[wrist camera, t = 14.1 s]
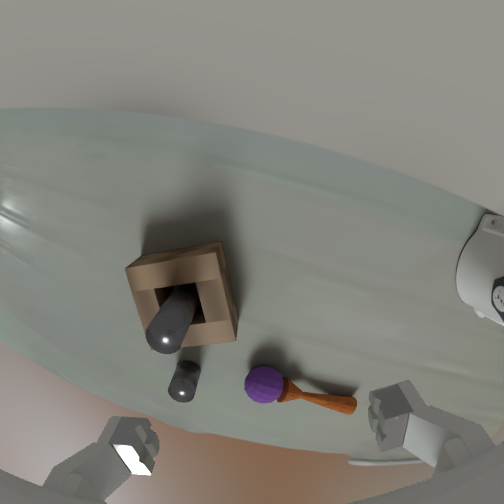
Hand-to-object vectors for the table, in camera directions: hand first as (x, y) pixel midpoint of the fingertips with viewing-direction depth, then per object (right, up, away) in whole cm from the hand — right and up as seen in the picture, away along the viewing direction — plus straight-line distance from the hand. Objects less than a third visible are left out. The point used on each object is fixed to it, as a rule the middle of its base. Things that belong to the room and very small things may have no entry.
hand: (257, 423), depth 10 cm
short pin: (-11, -13, +38) cm, 42 cm away
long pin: (-9, +1, +34) cm, 35 cm away
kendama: (+8, -16, +39) cm, 43 cm away
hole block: (-9, +1, +34) cm, 35 cm away
